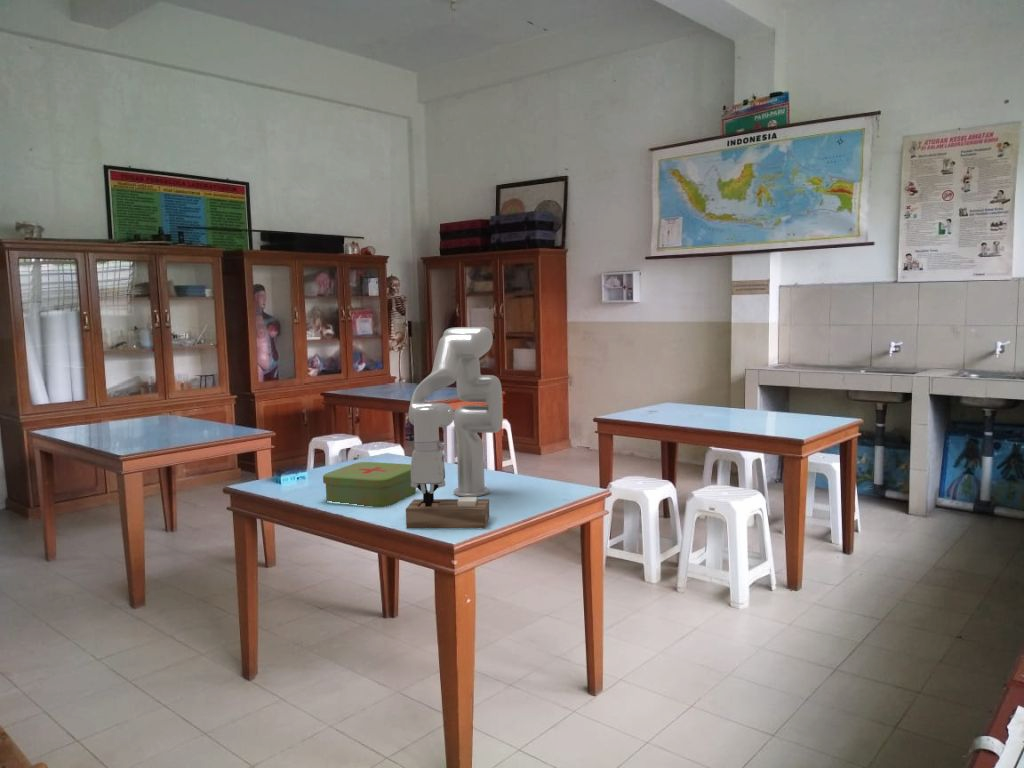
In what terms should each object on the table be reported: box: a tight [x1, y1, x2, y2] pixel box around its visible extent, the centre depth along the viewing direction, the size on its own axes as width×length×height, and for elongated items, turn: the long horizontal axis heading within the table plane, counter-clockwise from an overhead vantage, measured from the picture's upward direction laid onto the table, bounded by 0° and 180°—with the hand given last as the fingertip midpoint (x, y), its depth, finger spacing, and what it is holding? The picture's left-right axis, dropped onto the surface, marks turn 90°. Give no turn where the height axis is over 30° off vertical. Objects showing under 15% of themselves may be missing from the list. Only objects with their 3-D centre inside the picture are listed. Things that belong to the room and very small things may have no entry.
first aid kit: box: [322, 461, 417, 508], centre depth 270 cm, size 26×26×10 cm
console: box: [405, 498, 491, 530], centre depth 234 cm, size 12×24×6 cm, turn 86°
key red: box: [419, 503, 439, 507], centre depth 234 cm, size 5×5×4 cm
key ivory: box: [457, 496, 478, 506], centre depth 233 cm, size 5×5×4 cm
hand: (428, 505), depth 234 cm, fingers closed
